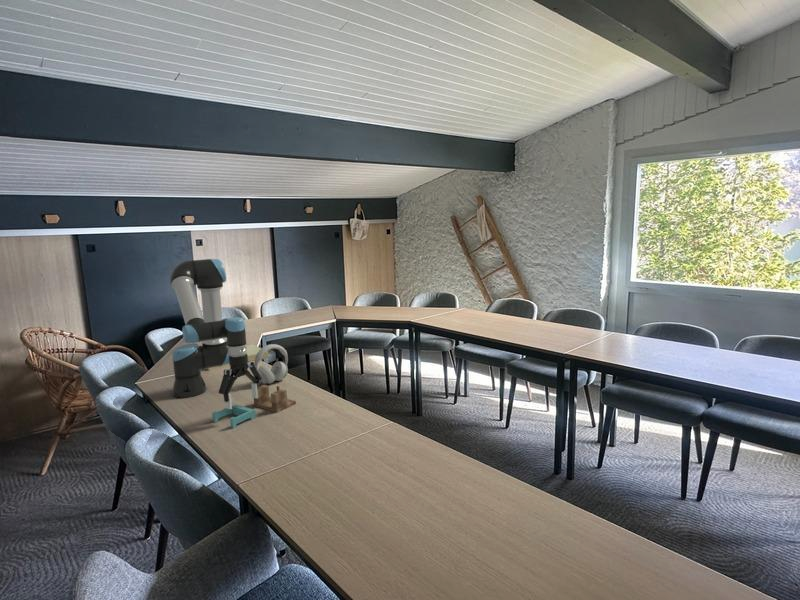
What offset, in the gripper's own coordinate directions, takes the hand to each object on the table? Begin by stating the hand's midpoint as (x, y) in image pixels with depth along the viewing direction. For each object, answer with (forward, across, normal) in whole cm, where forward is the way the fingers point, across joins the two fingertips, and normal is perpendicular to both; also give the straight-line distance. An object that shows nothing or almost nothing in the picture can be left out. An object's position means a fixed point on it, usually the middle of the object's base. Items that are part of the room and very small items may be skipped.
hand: (242, 403), depth 198 cm
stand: (+6, +15, -3) cm, 16 cm away
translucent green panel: (+5, +53, +75) cm, 92 cm away
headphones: (+6, +36, +21) cm, 42 cm away
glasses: (+6, -4, 0) cm, 7 cm away
